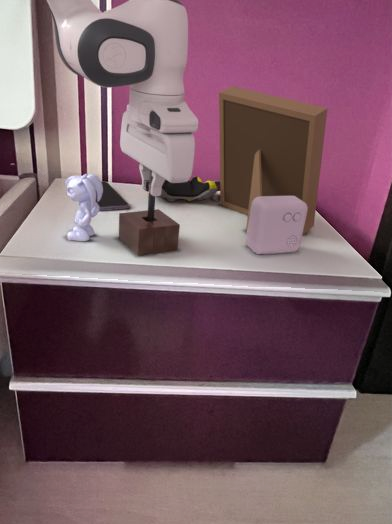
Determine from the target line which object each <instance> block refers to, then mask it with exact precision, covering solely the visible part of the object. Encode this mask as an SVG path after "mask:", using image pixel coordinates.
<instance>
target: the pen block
mask: <svg viewBox="0 0 392 524" xmlns="http://www.w3.org/2000/svg"><path fill="white" fill-rule="evenodd" d="M118 215H119V216H118V240H119V241H120V242H122V243H123V244H124V245H125V246H126V247H127V248H129V249H130V250H131V251H132V252H133V253H134V254H135V255H136V256H137V257H141V256H146V255H152V254H153V255H154V254H159V253H167V252H175V251H178V249H179V239H180V227H181V224H179V223H178V222H177V221H175V220H174V219H173V218H171V217H170V216H169V215H167V214H166V213H165V212H164V211H162V210H161V209H159V208H158V209H154V221H149V222H147V215H148V209H147V210H137V211H127V212H119V214H118Z"/></svg>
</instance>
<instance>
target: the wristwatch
mask: <svg viewBox="0 0 392 524" xmlns="http://www.w3.org/2000/svg"><path fill="white" fill-rule="evenodd" d="M213 182H215V184H216V186H217V192H216V193H218V192H220V180H213ZM216 193H215V194H213V195H212V196H210V199H211V200H213V201H215V202H220V194H216Z"/></svg>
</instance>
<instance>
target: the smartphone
mask: <svg viewBox="0 0 392 524" xmlns="http://www.w3.org/2000/svg"><path fill="white" fill-rule="evenodd" d="M101 182H102V185H103V194H102V197H101V199H100V201H99V202H97V192H96V202H97V204H98V205H99V211H114V210H126V209H128V208H129V203H128V202H127V200H126V199H125V198H123V197H122V196H121V195H120V193H118V191H117V190H116V189H115V188H113V186H112V185H111V184H110V183H109V182H108V181H105V180H103V181H102V180H101ZM95 191H96V190H95Z"/></svg>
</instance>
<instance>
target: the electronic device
mask: <svg viewBox="0 0 392 524" xmlns="http://www.w3.org/2000/svg"><path fill="white" fill-rule="evenodd" d="M307 211H308V207H307V205H306V203H305V202H303V201H302V200H300V199H299V198H297V197H296V196H259V197H256V198H255V199H254V200H253V201H252V204H251V210H250V216H249V222H248V229H247V230H246V236H245V245H246V246H247V247H248V248H249V249H250V250H251V251H252V252H253V253H255V254H257V255H273V254H286V253H295V252H297V251H298V250H299V248H300V246H301V243H302V237H303V235H302V234H303V229H304V224H305V220H306V215H307Z"/></svg>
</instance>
